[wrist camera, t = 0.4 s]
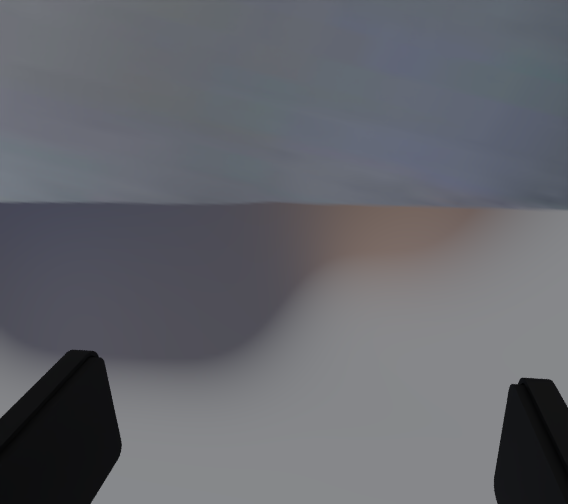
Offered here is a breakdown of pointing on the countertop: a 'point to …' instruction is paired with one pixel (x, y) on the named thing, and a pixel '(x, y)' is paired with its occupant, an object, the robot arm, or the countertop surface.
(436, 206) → the countertop surface
